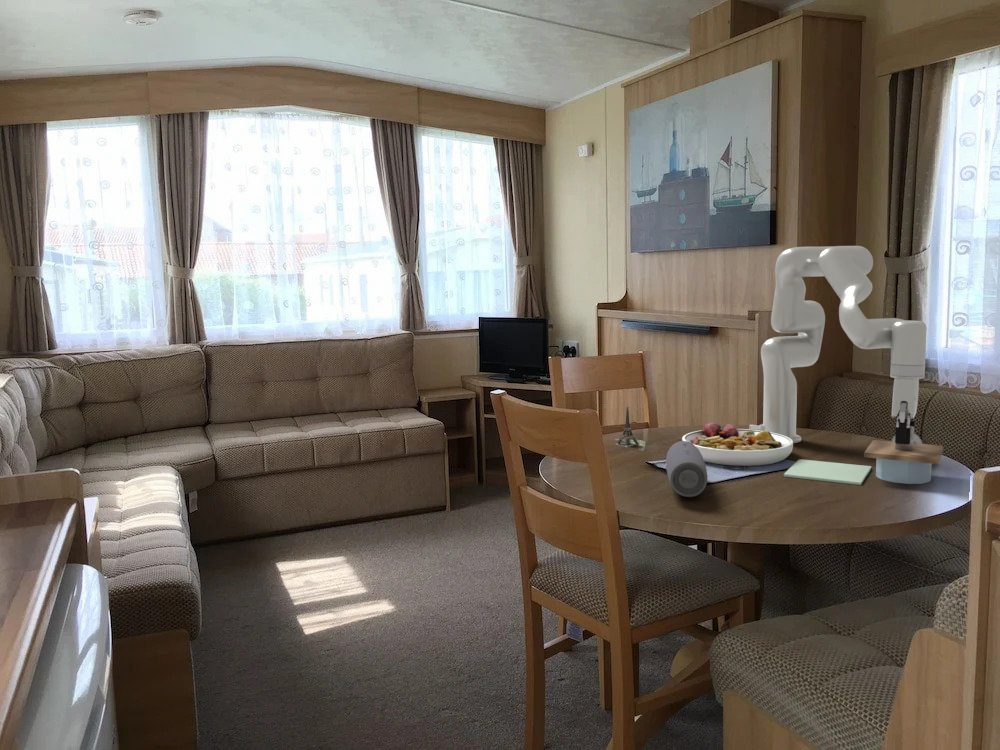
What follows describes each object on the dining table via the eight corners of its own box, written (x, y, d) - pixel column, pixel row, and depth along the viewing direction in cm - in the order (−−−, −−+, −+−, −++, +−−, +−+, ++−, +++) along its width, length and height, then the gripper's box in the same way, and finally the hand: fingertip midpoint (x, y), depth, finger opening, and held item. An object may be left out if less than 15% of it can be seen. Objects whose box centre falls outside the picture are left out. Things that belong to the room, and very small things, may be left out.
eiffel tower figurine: (645, 452, 235) (645, 407, 233) (610, 451, 237) (610, 407, 236) (646, 441, 250) (646, 399, 248) (614, 440, 252) (614, 398, 250)
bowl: (816, 461, 218) (817, 433, 217) (725, 474, 207) (726, 444, 206) (745, 441, 246) (745, 415, 245) (661, 451, 235) (661, 425, 234)
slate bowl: (873, 480, 197) (874, 456, 196) (879, 469, 207) (880, 446, 206) (928, 486, 190) (929, 461, 189) (932, 474, 200) (933, 451, 200)
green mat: (783, 476, 202) (783, 474, 202) (799, 461, 217) (799, 459, 217) (860, 485, 193) (860, 482, 193) (871, 468, 208) (871, 466, 208)
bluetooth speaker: (664, 476, 205) (664, 438, 204) (701, 477, 204) (702, 438, 202) (667, 502, 183) (667, 459, 182) (709, 503, 181) (709, 460, 180)
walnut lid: (864, 457, 195) (865, 429, 194) (873, 444, 209) (874, 418, 208) (938, 464, 187) (939, 435, 186) (942, 450, 200) (944, 423, 199)
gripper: (894, 366, 204) (891, 432, 206) (886, 374, 190) (883, 445, 192) (927, 367, 200) (924, 434, 203) (921, 376, 186) (918, 448, 188)
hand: (904, 439), depth 197 cm, fingers open, 9 cm apart
